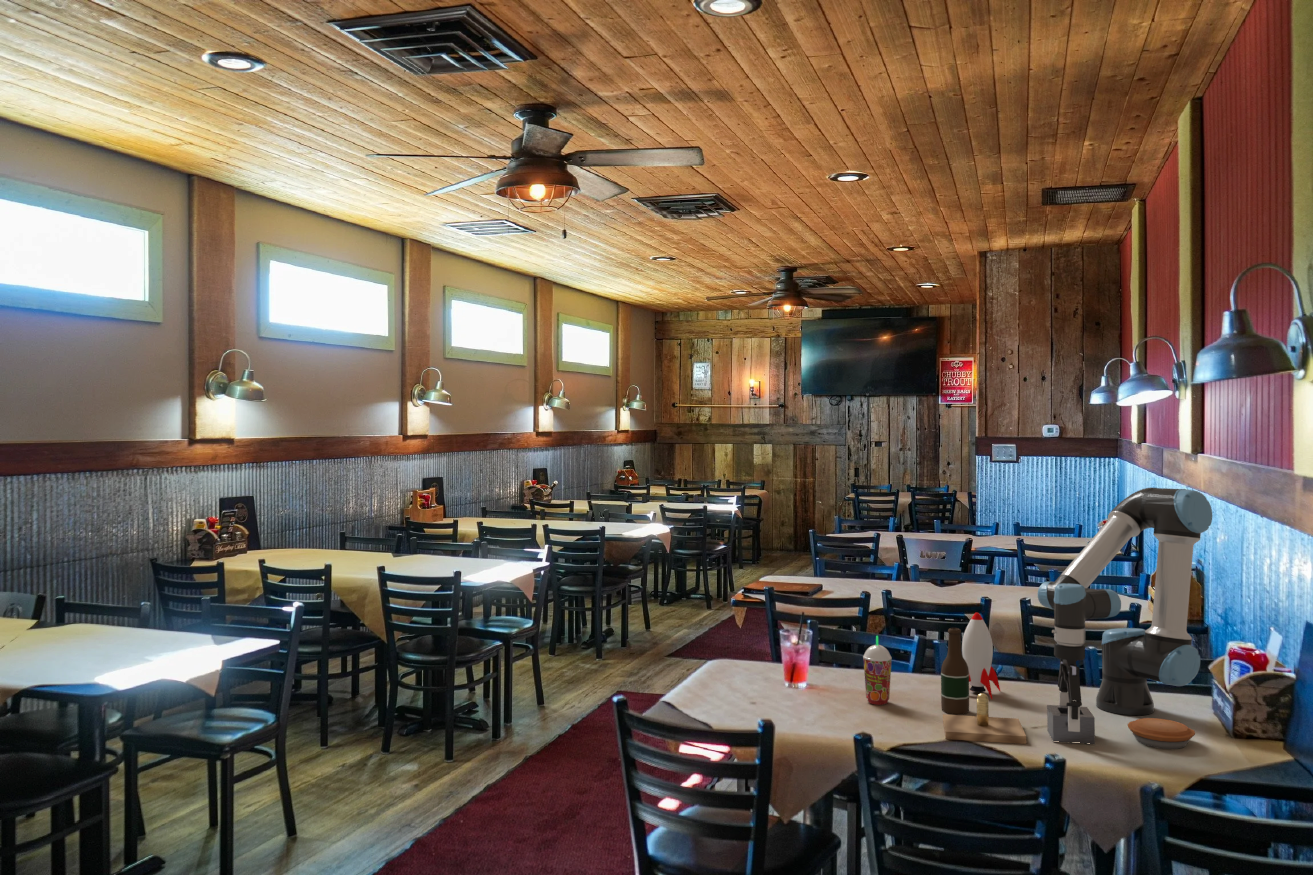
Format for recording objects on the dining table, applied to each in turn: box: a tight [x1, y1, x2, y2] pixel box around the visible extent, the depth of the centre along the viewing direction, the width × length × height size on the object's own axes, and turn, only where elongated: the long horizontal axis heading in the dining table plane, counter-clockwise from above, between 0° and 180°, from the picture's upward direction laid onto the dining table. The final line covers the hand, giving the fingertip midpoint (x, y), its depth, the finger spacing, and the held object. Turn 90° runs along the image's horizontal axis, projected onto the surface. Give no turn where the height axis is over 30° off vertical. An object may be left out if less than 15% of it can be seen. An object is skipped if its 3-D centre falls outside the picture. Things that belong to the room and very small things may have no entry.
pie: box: [1127, 717, 1196, 750], centre depth 250 cm, size 15×16×5 cm
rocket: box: [961, 612, 1001, 700], centre depth 299 cm, size 11×11×25 cm
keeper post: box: [976, 692, 990, 727], centre depth 259 cm, size 3×3×8 cm
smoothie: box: [862, 635, 893, 706], centre depth 289 cm, size 8×8×20 cm
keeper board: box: [942, 713, 1027, 745], centre depth 259 cm, size 20×16×2 cm
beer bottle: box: [940, 627, 970, 715], centre depth 279 cm, size 8×8×24 cm
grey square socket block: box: [1046, 704, 1096, 745], centre depth 254 cm, size 10×10×7 cm
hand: (1069, 723), depth 254 cm, fingers open, 13 cm apart
